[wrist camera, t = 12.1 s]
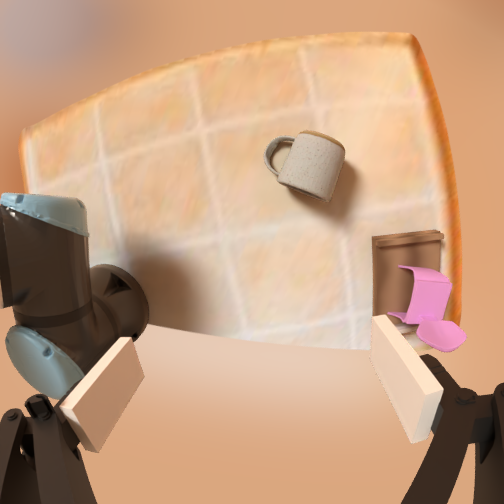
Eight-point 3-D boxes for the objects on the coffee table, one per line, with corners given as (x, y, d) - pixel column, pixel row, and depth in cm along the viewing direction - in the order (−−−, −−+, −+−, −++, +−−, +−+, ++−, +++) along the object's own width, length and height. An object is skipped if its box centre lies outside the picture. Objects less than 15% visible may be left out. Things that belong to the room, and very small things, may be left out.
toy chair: (435, 266, 42) (488, 297, 28) (422, 315, 44) (466, 358, 30) (393, 261, 42) (441, 294, 28) (381, 313, 44) (419, 362, 30)
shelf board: (372, 328, 47) (378, 339, 43) (371, 236, 44) (380, 241, 40) (430, 317, 46) (440, 325, 42) (434, 229, 43) (446, 233, 39)
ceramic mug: (342, 151, 41) (355, 144, 34) (323, 202, 43) (334, 205, 35) (275, 126, 41) (275, 113, 34) (256, 176, 43) (252, 174, 35)
